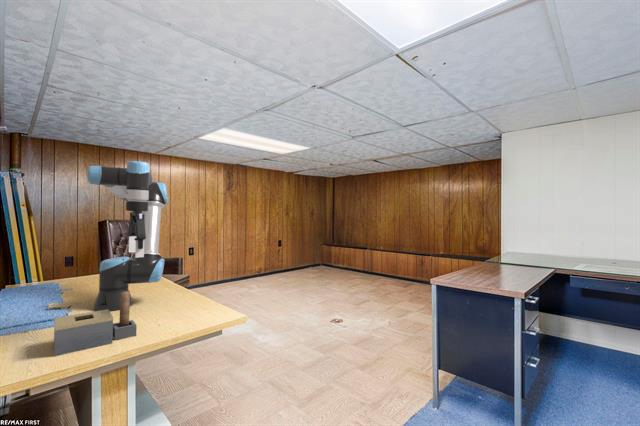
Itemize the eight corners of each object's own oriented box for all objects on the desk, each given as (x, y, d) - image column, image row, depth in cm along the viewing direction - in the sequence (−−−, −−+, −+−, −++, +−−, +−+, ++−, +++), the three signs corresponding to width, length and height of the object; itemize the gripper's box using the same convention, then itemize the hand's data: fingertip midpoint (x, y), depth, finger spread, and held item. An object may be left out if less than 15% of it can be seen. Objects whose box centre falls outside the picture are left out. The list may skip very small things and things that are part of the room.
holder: (111, 334, 111) (112, 323, 111) (132, 330, 115) (132, 319, 115) (114, 340, 106) (115, 329, 106) (136, 335, 110) (136, 324, 110)
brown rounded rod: (118, 334, 111) (119, 291, 111) (127, 332, 113) (129, 290, 113) (119, 337, 108) (121, 293, 109) (129, 335, 111) (130, 292, 111)
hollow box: (53, 344, 102) (54, 317, 102) (107, 333, 112) (108, 309, 112) (54, 356, 93) (55, 327, 94) (112, 343, 104) (113, 317, 104)
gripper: (120, 200, 124) (119, 250, 125) (132, 201, 106) (130, 260, 106) (141, 200, 129) (139, 249, 130) (156, 201, 111) (154, 258, 111)
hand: (135, 254), depth 118 cm, fingers open, 13 cm apart
